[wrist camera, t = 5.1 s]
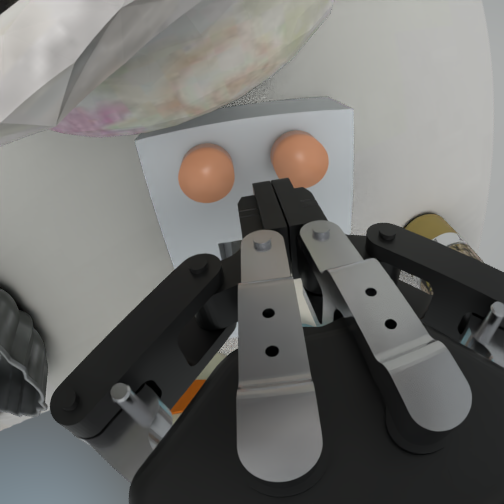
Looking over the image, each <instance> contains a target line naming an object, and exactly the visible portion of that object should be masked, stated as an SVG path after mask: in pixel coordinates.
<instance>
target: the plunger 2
mask: <svg viewBox="0 0 504 504" xmlns="http://www.w3.org/2000/svg"><path fill="white" fill-rule="evenodd" d="M270 159H271V163H272V165H273V168H274V170H275V172H276V174H277V176H278V178H279V179H282V178H289V179H290V181H291V183H292V185H293V187H294V188H299V187H304V188H309V187H311V186H313V185H315V184H317V183H318V182H319V181H320V180H321V179H322V178H323V177H324V175H325V174H326V172H327V169H328V165H329V158H328V154H327V151H326V150H325V148H324V147H323V145H322V144H321V143H320V142H319V141H317V140H316V139H315V138H314V137H313V136H312V135H311V134H309V133H307V132H305V131H300V130H294V131H289V132H286V133H284V134H283V135H281V136H280V137H279V138H278V139H277V140H276V141H275V142H274V144H273V146H272V148H271V153H270Z"/></svg>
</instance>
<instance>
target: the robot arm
mask: <svg viewBox="0 0 504 504" xmlns="http://www.w3.org/2000/svg"><path fill="white" fill-rule="evenodd" d="M252 187H253V194H254V195H250V196H245V197H241V199H240V200H239V202H238V204H237V205H238V212H239V219H240V225H241V232H242V239H243V240H242V242H241V248H240V249H239V250H238V251H237V252H236V253H235V254H233V255H232V256H230V257H228V258H225V259H223V260H221V261H220V259H219V258H218V257H217V256H215V255H213V254H207V253H202V254H197V255H194V256H191V257H189V258H187V259H186V260H184V261H183V262H182V263H181V264H180V265H179V266H178V267H177V268H176V269H175V270H174V271H173V272H172V273H171V274H170V275H168V276H167V277H166V278H165V279H164V280H163V281H162V282H161V283H160V284H159V285H158V286H157V287H156V288H155V289H154V290H153V291H152V292H151V293H150V294H149V295H148V296H147V297H146V298H145V299H144V300H143V301H142V302H141V303H140V304H139V305H138V306H137V307H136V308H135V309H134V310H132V311H131V312H130V313H129V314H128V315H127V316H126V317H125V318H124V319H123V320H122V321H121V322H120V323H119V324H118V325H117V326H116V327H115V328H114V329H113V330H112V331H111V332H110V333H109V334H108V335H107V336H106V338H105V339H104V340H103V341H102V342H101V343H100V344H99V345H98V346H97V347H96V348H95V349H94V350H93V351H92V352H91V353H90V354H89V355H88V356H87V357H86V358H85V359H84V360H83V361H82V362H81V363H80V364H79V365H78V366H77V367H76V368H75V369H74V371H73V372H72V373H71V374H70V375H69V376H68V377H67V378H66V379H65V380H64V381H63V382H62V383H61V384H60V385H59V386H58V388H57V389H56V390H55V392H54V393H53V395H52V398H51V402H50V410H51V414H52V416H53V418H54V419H55V421H57V422H58V423H59V424H60V425H62V426H63V427H65V428H66V429H68V430H69V431H70V432H72V433H73V435H74V436H76V437H77V438H79V439H80V440H82V441H83V442H85V443H87V444H88V445H90V446H91V447H93V448H94V449H95V450H96V451H97V452H98V453H99V454H100V455H101V456H102V457H103V458H104V459H105V460H106V461H107V462H108V463H109V464H110V465H111V466H112V467H113V468H114V469H115V470H116V471H117V472H118V473H119V474H121V475H122V476H123V477H124V478H125V479H126V480H127V481H128V482H130V483H131V486H130V490H129V504H504V272H502V271H499V270H498V269H495V268H493V267H491V266H489V265H487V264H485V263H483V262H481V261H478V260H476V259H474V258H472V257H470V256H468V255H465V254H463V253H461V252H459V251H456V250H454V249H452V248H449V247H447V246H445V245H443V244H440V243H438V242H436V241H433V240H431V239H428V238H426V237H424V236H421V235H419V234H416V233H414V232H411V231H409V230H406V229H404V228H401V227H399V226H396V225H393V224H390V223H377V224H374V225H372V226H370V227H369V228H368V230H367V234H366V236H359V235H348V234H345V233H344V232H343V231H342V229H341V228H340V227H339V226H338V225H337V224H335V223H333V222H330V221H328V220H327V218H326V216H325V215H324V213H323V211H322V209H321V208H320V206H319V205H318V203H317V201H316V200H315V198H314V196H313V194H312V193H311V192H310V191H309V190H307V189H305V188H304V187H299V188H294V187H293V185H292V183H291V181H290V179H289V178H282V179H276V180H271V182H270V181H263V182H257V183H252ZM401 270H403V271H405V272H407V273H409V274H411V275H414V276H416V277H418V278H420V279H422V280H424V281H426V282H428V283H429V284H430V285H431V286H432V288H433V295H431V294H428V293H426V292H424V291H422V290H420V289H417V288H415V287H413V286H411V285H409V284H407V283H405V282H403V281H401V280H399V275H400V271H401ZM291 274H292V276H291ZM299 278H301V281H302V288H303V296H304V298H305V301H306V303H307V305H308V308H309V310H310V312H311V315H312V317H313V320H314V322H315V324H316V327H302V322H301V316H300V311H299V305H298V300H297V295H296V290H295V284H294V279H299ZM237 322H238V349H236V350H235V351H233V352H232V353H230V354H229V355H228V356H226V357H225V358H224V359H223V360H222V361H221V362H220V363H219V364H218V365H217V366H216V368H215V369H214V370H213V371H212V373H211V374H210V376H209V377H208V378H207V380H206V381H205V382H204V384H203V385H202V387H201V388H200V389H199V391H198V392H197V393H196V395H195V396H194V397H193V399H192V400H191V401H190V403H189V404H188V405H187V407H186V408H185V409H184V411H183V412H182V413H181V415H180V416H179V417H178V419H177V420H176V421H175V423H174V424H173V425H172V423H173V417H172V413H171V411H170V410H171V409H172V408H173V406H174V405H175V404H176V403H177V402H178V400H179V399H180V398H181V397H182V395H183V394H184V393H185V392H186V391H187V389H188V388H189V387H190V386H191V384H192V383H193V382H194V381H195V379H196V378H197V377H198V376H199V375H200V373H201V372H202V371H203V370H204V368H205V367H206V366H207V365H208V363H209V362H210V361H211V360H212V358H213V357H214V356H215V354H216V353H217V352H218V351H219V349H220V348H221V347H222V346H223V344H224V343H225V342H226V341H227V339H228V338H229V337H230V335H231V334H232V333H233V332H234V330H235V328H236V325H237Z"/></svg>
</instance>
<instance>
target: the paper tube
mask: <svg viewBox="0 0 504 504" xmlns="http://www.w3.org/2000/svg"><path fill="white" fill-rule="evenodd" d="M405 229H406V230H409V231H411V232H414V233H416V234H419V235H421V236H424V237H426V238H428V239H431V240H433V241H436V242H438V243H440V244H443V245H445V246H447V247H449V248H452V249H454V250H456V251H459V252H461V253H463V254H465V255H468V256H470V257H472V258H474V259H476V260H478V261H481V262H483V261H482V260H481V259H480V257H479V256H478V255H477V254H476V253H475V252H474V251H473V249H472V248H471V247H470V246H469V245H468V244H467V243H466V242H465V241H464V240H463V239H462V237H461V236H460V235H458V234H457V232H456V231H455V230H454V229H453V228H452V227H451V226H450V225H449V224H448V223H447V222H446V221H445V220H444V219H443V218H442V217H440V216H438V215H436V214H425V215H422V216H419V217H417V218H416V219H414V220H413V221H412V222H410V223H409V224H408V225H407V227H406V228H405ZM483 263H484V262H483ZM412 276H413V278H414V280H415V281H416V283H417V284H418V286H419V287H420V289H421V290H422V291H424V292H426V293H428V294H431V295H433V288H432V286H431V285H430V284H429V283H428V282H426V281H424V280H422V279H420V278H418V277H416V276H414V275H412Z"/></svg>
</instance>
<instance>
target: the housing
mask: <svg viewBox="0 0 504 504" xmlns="http://www.w3.org/2000/svg"><path fill="white" fill-rule="evenodd" d="M294 130H300V131H305V132H307V133H309V134H311V135H312V136H313V137H314V138H315V139H316V140H317V141H319V142H320V143H321V144H322V145H323V147H324V148H325V150H326V151H327V154H328V158H329V165H328V169H327V172H326V174H325V175H324V177H323V178H322V179H321V180H320V181H319V182H318V183H317V184H315V185H313V186H311V187H309V188H305V189H307V190H309V191H310V192H311V193H312V194H313V196H314V198H315V200H316V201H317V203H318V205H319V206H320V208H321V209H322V211H323V213H324V215H325V216H326V218H327V220H328V221H330V222H333V223H335V224H337V225H338V226H339V227H340V228H341V229H342V231H343V232H344V233H345V234H348V235H351V219H352V200H353V170H354V112H353V108H351V107H349V106H347V105H345V104H343V103H341V102H339V101H337V100H334V99H332V98H330V97H315V98H300V99H289V100H279V101H269V102H261V103H253V104H246V105H239V106H232V107H226V108H219V109H216V110H214V111H212V112H210V113H207V114H205V115H202V116H199V117H197V118H194V119H191V120H189V121H186V122H184V123H181V124H179V125H176V126H172V127H168V128H164V129H160V130H156V131H152V132H147V133H141V134H140V135H139V136H138V137H137V138H136V140H135V144H136V148H137V152H138V155H139V159H140V163H141V166H142V170H143V173H144V177H145V180H146V183H147V187H148V190H149V193H150V197H151V200H152V203H153V206H154V210H155V213H156V216H157V219H158V222H159V225H160V228H161V231H162V234H163V237H164V240H165V243H166V246H167V249H168V252H169V255H170V258H171V261H172V264H173V267H174V269H176V268H177V267H178V266H179V265H180V264H181V263H182V262H183V261H184V260H186V259H187V258H189V257H191V256H194V255H197V254H202V253H207V254H213V255H215V256H217V257H218V258H219V259H220V261H221V260H223V259H225V258H228V257H230V256H232V246H231V242H232V241H238V240H243V239H242V232H241V225H240V219H239V212H238V205H237V204H238V202H239V200H240V199H241V197H245V196H250V195H254V194H253V187H252V183H257V182H263V181H270V182H271V180H276V179H279V178H278V176H277V174H276V172H275V170H274V168H273V165H272V163H271V159H270V153H271V148H272V146H273V144H274V142H275V141H276V140H277V139H278V138H279V137H280V136H281V135H283V134H284V133H286V132H289V131H294ZM204 143H211V144H215V145H218V146H220V147H222V148H223V149H225V150H226V151H227V152H228V153H229V155H230V157H231V159H232V162H233V167H234V175H235V179H234V184H233V187H232V189H231V191H230V192H229V193H228V194H227V195H226V196H225V197H224V198H222V199H221V200H219V201H216V202H212V203H200V202H196V201H194V200H192V199H190V198H189V197H187V196H186V195H185V194H184V193H183V191H182V190H181V188H180V185H179V181H178V174H179V170H180V166H181V163H182V160H183V157H184V156H185V154H186V153H187V152H188V151H189V150H190V149H191V148H193V147H194V146H197V145H199V144H204ZM237 337H238V322H237V325H236V328H235V330H234V332H233V333H232V334H231V335H230V337H229V338H228V339H230V338H237Z"/></svg>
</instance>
